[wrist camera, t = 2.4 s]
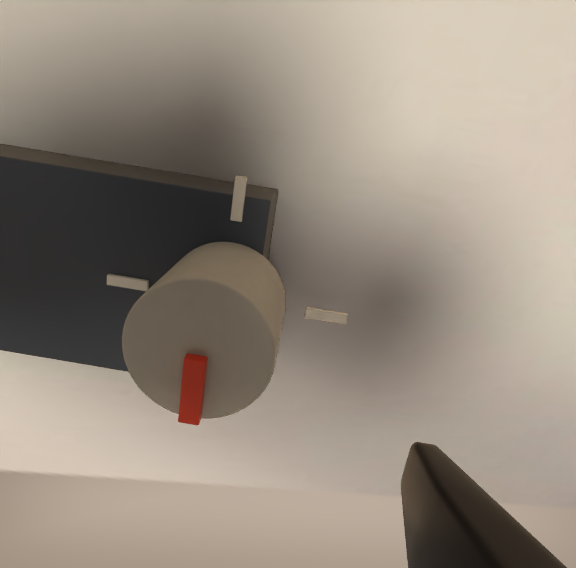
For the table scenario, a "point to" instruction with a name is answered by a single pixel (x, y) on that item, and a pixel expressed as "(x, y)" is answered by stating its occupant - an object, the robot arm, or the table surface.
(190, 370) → the dial
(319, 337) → the table surface
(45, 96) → the table surface
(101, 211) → the control panel
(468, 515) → the robot arm
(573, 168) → the table surface
